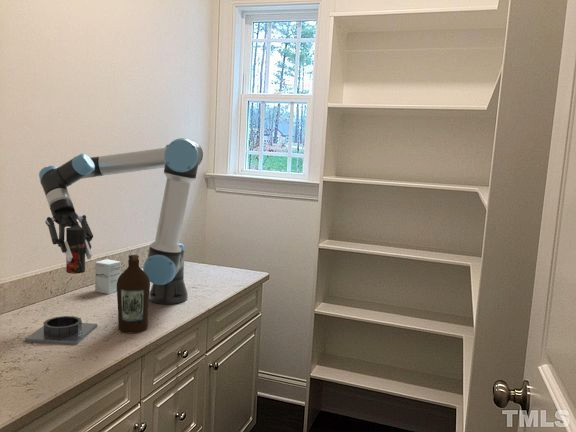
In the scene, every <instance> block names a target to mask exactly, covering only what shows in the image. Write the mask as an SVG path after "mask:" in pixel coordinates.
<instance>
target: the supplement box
mask: <svg viewBox="0 0 576 432" xmlns="http://www.w3.org/2000/svg"><path fill="white" fill-rule="evenodd" d="M94 264H95V265H94V266H95V267H94V270H95V271H94V292H95V293H100V294H101V293H102V294H107V295H111V294H113V293H114V294H115V293H117V281H118V278H119V276H120V275H121V265H122V262H121V261H118V260H112V259H107V258H106V259H103V260H98V261H95V263H94Z"/></svg>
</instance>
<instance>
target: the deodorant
mask: <svg viewBox="0 0 576 432" xmlns="http://www.w3.org/2000/svg"><path fill="white" fill-rule="evenodd" d="M65 231H66V232H65V238H66V241H67V242H68V245H69V248H70V251H71V253H72V256H73V258H72V260H71V261H70V262H68V260H67V257H65V258H66V260H65V261H66V264H65V266H66V269H65V271H66V273H67V274H70V275H71V274H72V275H74V274H83V273H85V272H86V254H85V228H83V227H82V226H80V227H67V228H66V227H65Z"/></svg>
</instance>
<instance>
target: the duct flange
mask: <svg viewBox="0 0 576 432" xmlns="http://www.w3.org/2000/svg"><path fill="white" fill-rule="evenodd" d="M97 328H98V323H91V322H82V319H81V318H80V317H77V316H73V315H61V316H56V317H52V318H48V319H46V320H45V321H44V322H43V325H42V326H41V327H40V328H38V329H37V330H35V331H33V332H32V333H31V334H30V335H28V336H26V337H25V338H24V342H25V343H38V344H39V343H41V344H42V343H43V344H54V345H55V344H58V345H72V346H73V345H76V346H77V345H78V344H79V343H80V342H82V341H83V340H84V339H86V337H88V335H89V334H91V333H92V332H93V331H94V330H95V329H97Z"/></svg>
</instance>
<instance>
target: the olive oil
mask: <svg viewBox="0 0 576 432" xmlns="http://www.w3.org/2000/svg"><path fill="white" fill-rule="evenodd" d="M139 258H140V256H139V255H138V254H130V255H128V263H127V264H128V267H127V268H126V269H125V270H124V271H123V272H122V273H120V276H119V278H118V281H117V292H116V298H117V299H116V300H117V325H118V328H117V329H118V331H119V332H121V333H126V334H137V333H142V332H145V331H146V330H147V329H148V326H149V324H148V323H149V307H150V306H149V304H150V300H149V293H150V290H151V282H150V281H149V278H148V276H147V275H146V273H145V272H144V271H143V269H142V268H141V267H140V259H139Z"/></svg>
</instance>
